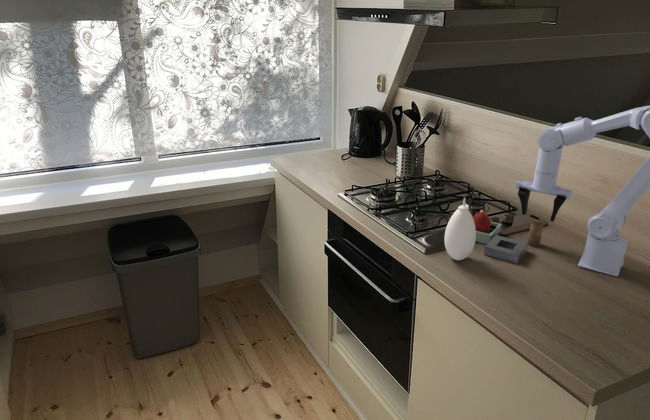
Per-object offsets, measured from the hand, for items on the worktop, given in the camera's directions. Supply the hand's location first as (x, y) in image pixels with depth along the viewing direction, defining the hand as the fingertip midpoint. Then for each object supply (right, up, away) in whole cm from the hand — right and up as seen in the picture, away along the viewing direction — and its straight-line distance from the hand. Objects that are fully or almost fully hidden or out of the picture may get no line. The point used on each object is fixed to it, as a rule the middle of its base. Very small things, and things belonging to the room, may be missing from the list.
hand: (538, 217), depth 144 cm
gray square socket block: (-10, -10, -2) cm, 14 cm away
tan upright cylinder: (0, -8, +3) cm, 9 cm away
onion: (-14, -6, +9) cm, 18 cm away
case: (-14, -6, +9) cm, 17 cm away
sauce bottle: (-24, -12, -5) cm, 27 cm away
